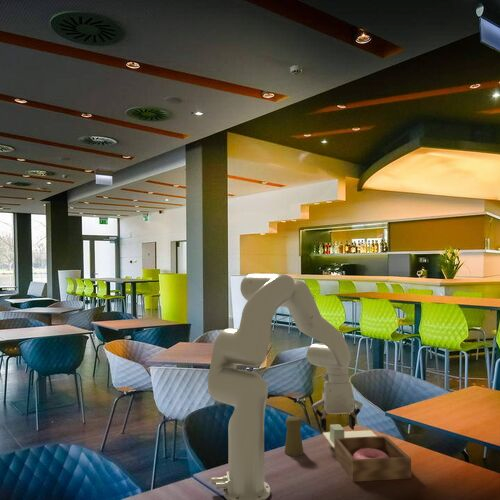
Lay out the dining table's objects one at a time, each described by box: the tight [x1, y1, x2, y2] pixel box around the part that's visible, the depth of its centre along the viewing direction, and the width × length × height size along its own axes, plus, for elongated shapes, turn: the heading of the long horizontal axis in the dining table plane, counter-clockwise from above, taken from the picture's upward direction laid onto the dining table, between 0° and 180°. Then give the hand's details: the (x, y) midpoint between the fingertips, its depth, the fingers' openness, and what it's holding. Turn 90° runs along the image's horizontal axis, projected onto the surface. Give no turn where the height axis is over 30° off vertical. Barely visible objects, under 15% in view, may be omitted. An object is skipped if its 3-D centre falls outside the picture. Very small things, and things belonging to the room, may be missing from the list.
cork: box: [284, 415, 304, 457], centre depth 144 cm, size 6×6×11 cm
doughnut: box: [353, 448, 389, 460], centre depth 134 cm, size 11×11×4 cm
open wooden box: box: [333, 435, 412, 483], centre depth 134 cm, size 17×17×6 cm
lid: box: [322, 423, 377, 449], centre depth 153 cm, size 18×18×6 cm
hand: (337, 428), depth 152 cm, fingers open, 9 cm apart
